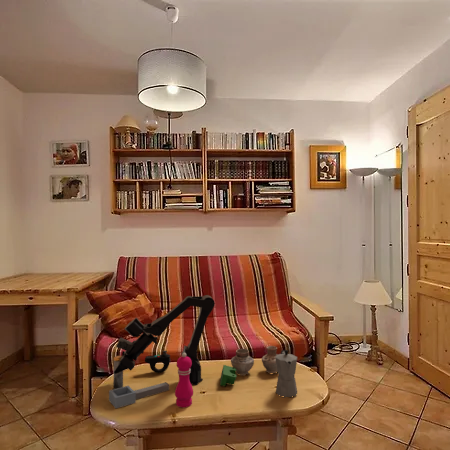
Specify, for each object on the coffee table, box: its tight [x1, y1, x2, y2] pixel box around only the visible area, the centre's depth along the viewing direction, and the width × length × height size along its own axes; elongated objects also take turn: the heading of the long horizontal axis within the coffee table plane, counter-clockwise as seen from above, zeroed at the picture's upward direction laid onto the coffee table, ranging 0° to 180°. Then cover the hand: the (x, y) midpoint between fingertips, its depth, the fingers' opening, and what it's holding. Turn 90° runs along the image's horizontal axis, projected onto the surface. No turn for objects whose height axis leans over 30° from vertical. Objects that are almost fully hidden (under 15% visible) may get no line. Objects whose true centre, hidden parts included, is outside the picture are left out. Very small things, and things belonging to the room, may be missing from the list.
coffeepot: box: [275, 349, 298, 398], centre depth 150 cm, size 15×9×18 cm, turn 2°
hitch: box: [108, 381, 170, 409], centre depth 146 cm, size 24×8×4 cm, turn 126°
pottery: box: [230, 345, 278, 376], centre depth 171 cm, size 11×25×12 cm, turn 96°
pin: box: [113, 355, 124, 389], centre depth 155 cm, size 4×4×13 cm
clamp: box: [219, 364, 237, 388], centre depth 160 cm, size 12×6×9 cm, turn 173°
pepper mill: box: [174, 353, 194, 408], centre depth 140 cm, size 7×7×20 cm
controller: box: [144, 350, 171, 374], centre depth 171 cm, size 4×12×10 cm, turn 103°
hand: (115, 371), depth 154 cm, fingers closed on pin, 4 cm apart
